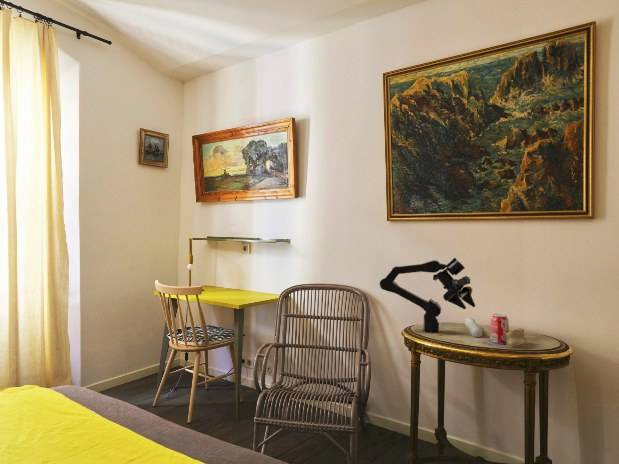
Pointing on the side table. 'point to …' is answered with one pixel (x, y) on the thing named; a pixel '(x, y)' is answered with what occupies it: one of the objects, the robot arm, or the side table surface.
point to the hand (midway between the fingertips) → (470, 307)
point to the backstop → (514, 338)
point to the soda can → (499, 328)
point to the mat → (494, 343)
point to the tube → (473, 327)
